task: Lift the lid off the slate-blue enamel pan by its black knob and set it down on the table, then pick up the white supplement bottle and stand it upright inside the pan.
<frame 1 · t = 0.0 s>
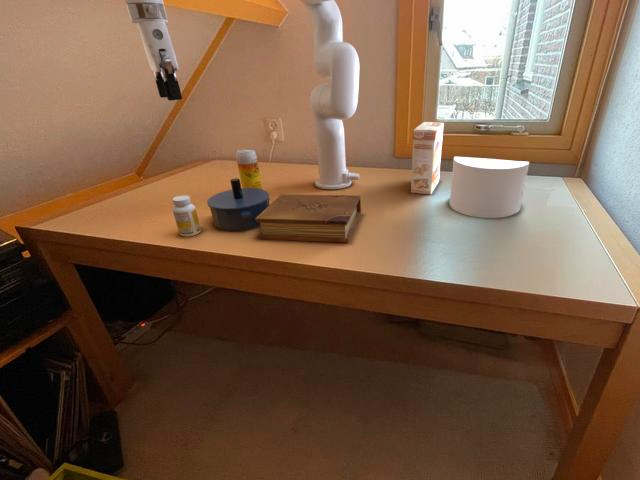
hand: (171, 98, 92), 31 cm above the table, tool pointing down, fingers open, 9 cm apart
pan lid: (239, 199, 101), point 6 cm above the table, touching pan
supplement bottle: (191, 233, 98), on the table
coffeecake box: (425, 187, 124), on the table
diary: (313, 226, 99), on the table
pan: (243, 219, 104), on the table
beer can: (254, 198, 120), on the table
container: (483, 205, 109), on the table
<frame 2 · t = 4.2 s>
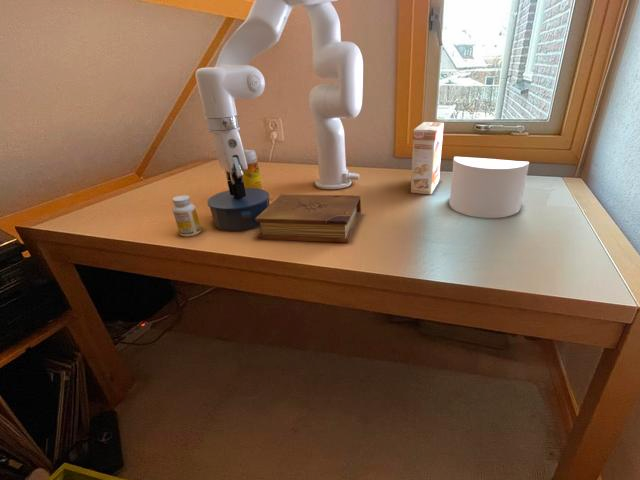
hand: (238, 195, 100), 7 cm above the table, tool pointing down, fingers closed on pan lid, 2 cm apart
pan lid: (239, 199, 101), point 6 cm above the table, touching gripper, pan
everything else where it was.
when the fingers open (2 cm above the table, at t = 12.8 s): pan lid stays where it is, point 1 cm above the table.
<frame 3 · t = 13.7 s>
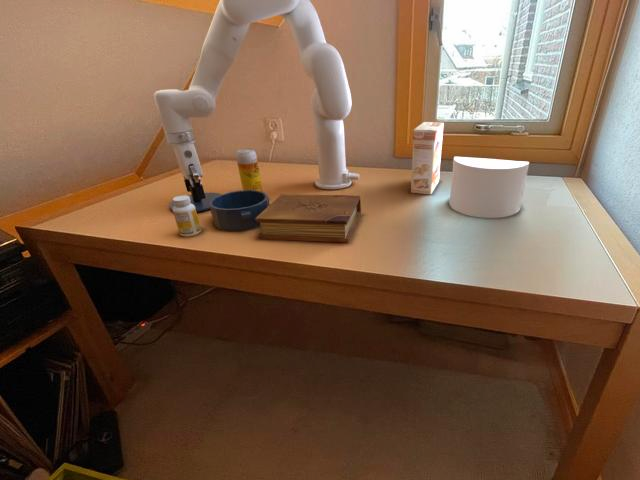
hand: (196, 194, 114), 3 cm above the table, tool pointing down, fingers open, 9 cm apart
pan lid: (198, 202, 116), point 1 cm above the table
everything else where it was.
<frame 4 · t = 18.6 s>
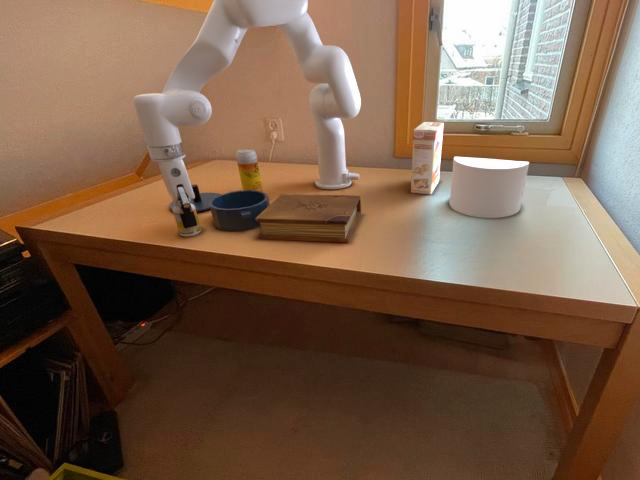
hand: (187, 222, 96), 3 cm above the table, tool pointing down, fingers closed on supplement bottle, 5 cm apart
supplement bottle: (191, 233, 98), on the table, touching gripper
everything else where it was.
when the fingers open (3 cm above the table, at t = 26.6 s): supplement bottle stays where it is, resting on pan.
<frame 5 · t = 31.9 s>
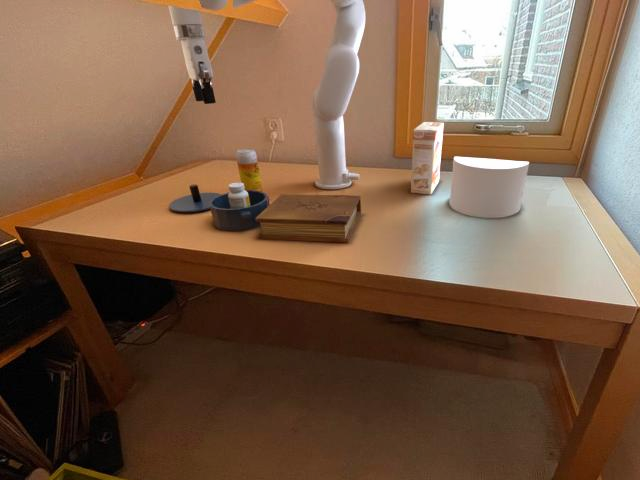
hand: (205, 102, 110), 28 cm above the table, tool pointing down, fingers open, 9 cm apart
supplement bottle: (243, 218, 104), resting on pan
everything else where it was.
at the end: pan lid inside the target area (0.1 cm from its centre), point 0.6 cm above the table; supplement bottle inside the target area in the pan (0.0 cm from its centre), point 0.3 cm above the pan's base; supplement bottle tilted 0° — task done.
